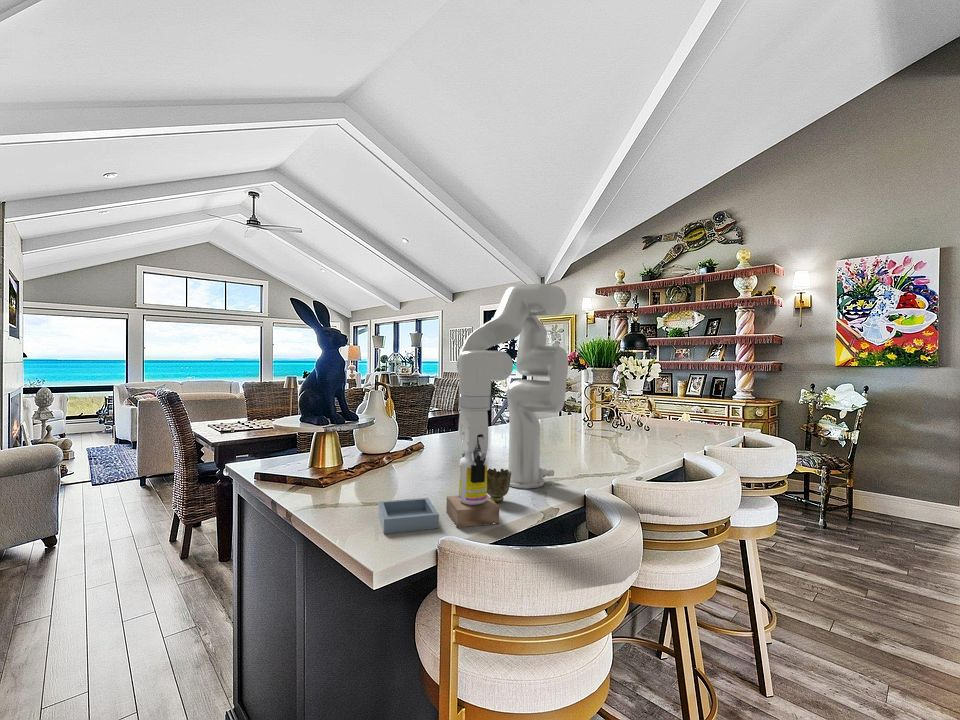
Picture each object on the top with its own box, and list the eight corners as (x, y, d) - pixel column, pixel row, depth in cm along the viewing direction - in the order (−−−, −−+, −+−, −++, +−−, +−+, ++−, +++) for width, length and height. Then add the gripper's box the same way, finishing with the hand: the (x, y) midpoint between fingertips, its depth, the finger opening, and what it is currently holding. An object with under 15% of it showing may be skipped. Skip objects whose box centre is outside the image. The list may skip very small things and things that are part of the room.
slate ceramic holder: (427, 510, 110) (428, 497, 110) (438, 528, 99) (438, 514, 99) (378, 514, 106) (378, 501, 106) (383, 533, 95) (384, 519, 95)
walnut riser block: (484, 509, 111) (485, 493, 111) (498, 523, 102) (499, 506, 102) (446, 512, 108) (446, 496, 108) (457, 528, 99) (457, 510, 99)
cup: (480, 504, 115) (481, 474, 115) (484, 496, 122) (485, 467, 122) (509, 507, 114) (510, 475, 114) (511, 497, 121) (512, 468, 121)
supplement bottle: (492, 501, 105) (493, 448, 105) (471, 508, 101) (473, 451, 100) (473, 494, 110) (474, 443, 110) (452, 500, 105) (454, 446, 105)
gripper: (450, 399, 112) (448, 469, 112) (470, 407, 95) (468, 489, 96) (478, 399, 114) (476, 467, 115) (502, 407, 98) (500, 487, 98)
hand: (472, 477), depth 105 cm, fingers open, 6 cm apart
